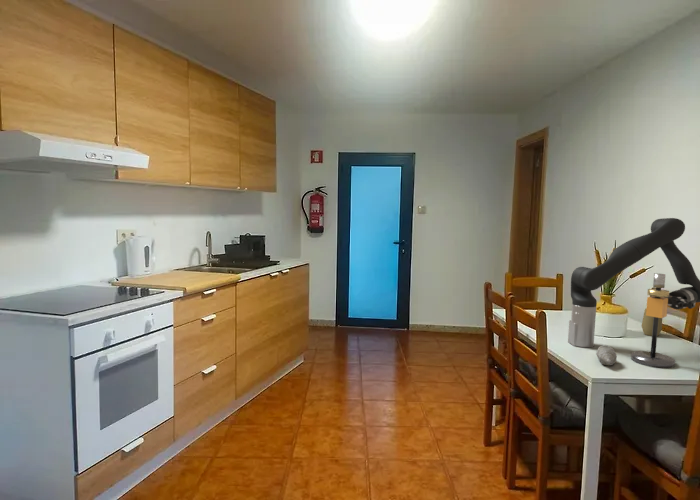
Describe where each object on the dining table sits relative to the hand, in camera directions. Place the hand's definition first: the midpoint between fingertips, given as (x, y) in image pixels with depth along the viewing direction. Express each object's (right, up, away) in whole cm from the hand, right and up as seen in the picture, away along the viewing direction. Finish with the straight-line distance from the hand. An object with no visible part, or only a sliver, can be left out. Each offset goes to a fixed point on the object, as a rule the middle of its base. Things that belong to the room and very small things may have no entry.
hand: (666, 303), depth 180 cm
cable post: (-8, -22, -3) cm, 23 cm away
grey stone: (-27, -22, -6) cm, 35 cm away
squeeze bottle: (+17, -19, +35) cm, 43 cm away
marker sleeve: (-7, -4, -5) cm, 10 cm away
